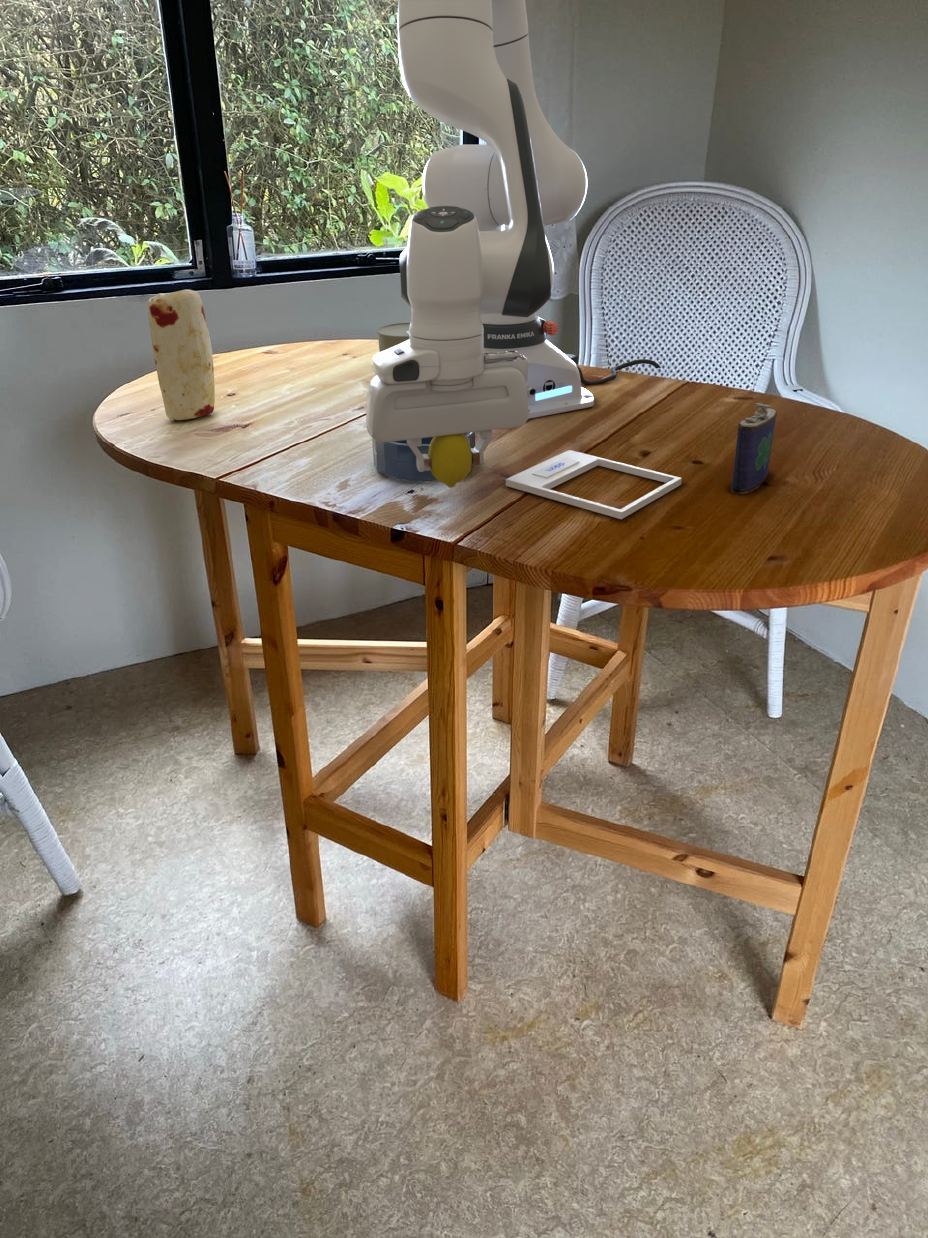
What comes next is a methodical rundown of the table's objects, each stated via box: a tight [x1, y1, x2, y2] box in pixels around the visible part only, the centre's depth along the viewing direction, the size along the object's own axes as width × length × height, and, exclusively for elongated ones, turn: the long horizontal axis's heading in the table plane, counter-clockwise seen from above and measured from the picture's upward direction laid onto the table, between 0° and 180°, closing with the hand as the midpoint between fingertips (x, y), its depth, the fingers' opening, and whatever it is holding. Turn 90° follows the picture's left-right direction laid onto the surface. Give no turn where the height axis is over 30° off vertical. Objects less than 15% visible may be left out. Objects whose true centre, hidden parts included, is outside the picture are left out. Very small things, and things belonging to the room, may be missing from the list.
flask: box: [730, 402, 777, 495], centre depth 119 cm, size 9×3×11 cm, turn 144°
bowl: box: [371, 432, 476, 482], centre depth 128 cm, size 14×14×6 cm
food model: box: [147, 289, 216, 421], centre depth 147 cm, size 10×7×20 cm
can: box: [376, 322, 410, 353], centre depth 177 cm, size 12×12×7 cm
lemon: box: [428, 434, 472, 488], centre depth 116 cm, size 6×6×8 cm
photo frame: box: [505, 449, 683, 520], centre depth 122 cm, size 15×1×18 cm
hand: (449, 466), depth 117 cm, fingers closed on lemon, 5 cm apart
